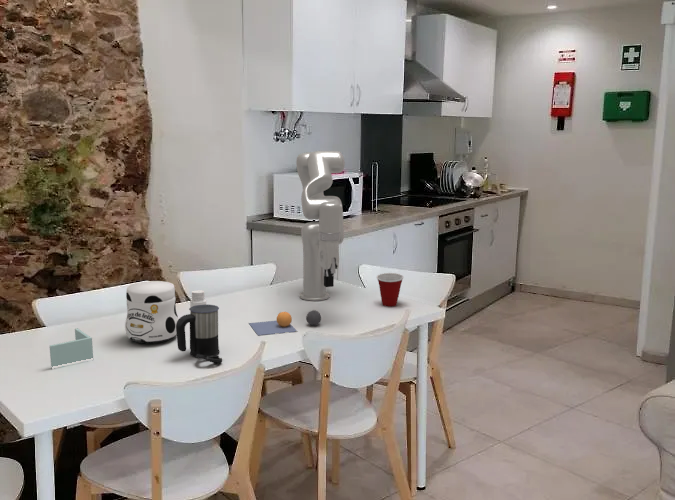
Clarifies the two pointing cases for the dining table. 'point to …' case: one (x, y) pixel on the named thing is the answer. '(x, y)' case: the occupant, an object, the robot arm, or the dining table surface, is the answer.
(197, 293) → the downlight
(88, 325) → the dining table surface
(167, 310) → the milk container
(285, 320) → the orange ball
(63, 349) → the right angle wall
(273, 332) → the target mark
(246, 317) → the dining table surface
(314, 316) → the gray ball
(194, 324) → the milk frother
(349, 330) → the dining table surface
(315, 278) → the robot arm
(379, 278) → the plastic cup
